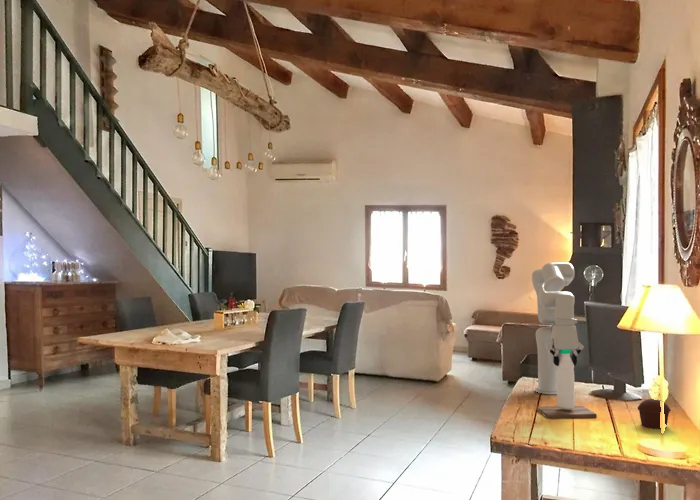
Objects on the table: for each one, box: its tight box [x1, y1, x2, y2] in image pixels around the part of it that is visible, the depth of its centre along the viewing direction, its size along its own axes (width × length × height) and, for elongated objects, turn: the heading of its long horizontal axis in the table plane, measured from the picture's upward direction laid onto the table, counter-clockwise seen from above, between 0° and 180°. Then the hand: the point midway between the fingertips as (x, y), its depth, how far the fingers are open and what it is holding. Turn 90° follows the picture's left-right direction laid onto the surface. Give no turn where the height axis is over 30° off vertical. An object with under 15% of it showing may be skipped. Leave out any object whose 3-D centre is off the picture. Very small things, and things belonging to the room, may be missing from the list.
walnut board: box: [536, 405, 598, 419], centre depth 257 cm, size 14×20×2 cm
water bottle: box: [556, 349, 576, 409], centre depth 257 cm, size 7×7×25 cm
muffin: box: [637, 398, 671, 430], centre depth 238 cm, size 12×11×10 cm
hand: (565, 364), depth 258 cm, fingers closed on water bottle, 6 cm apart
